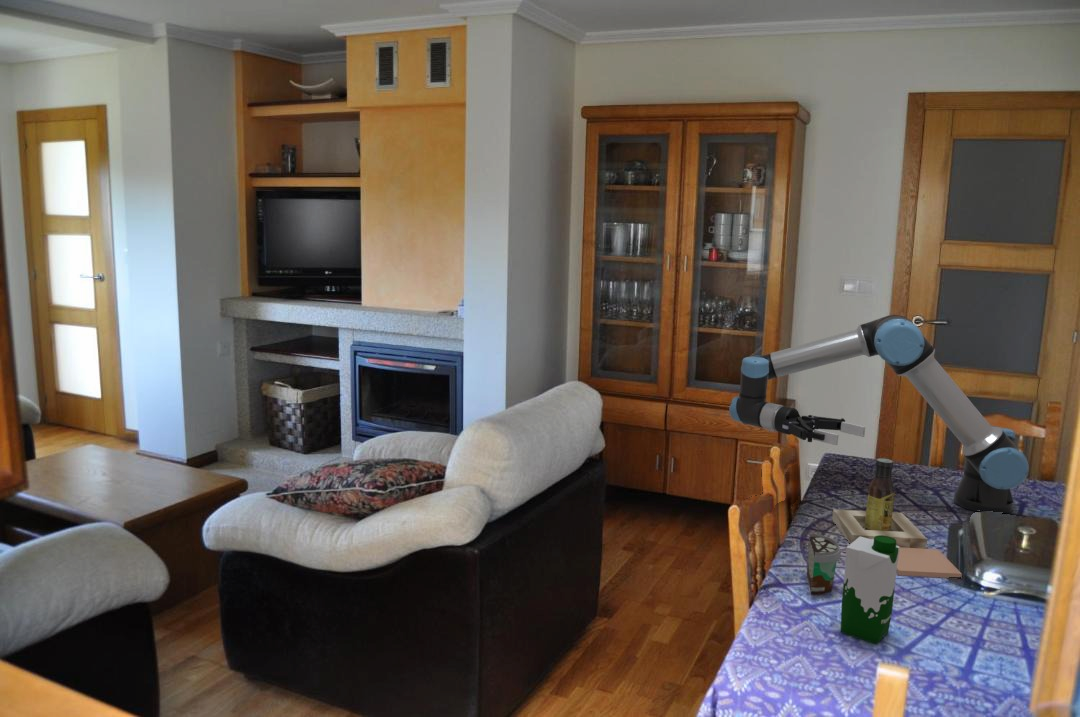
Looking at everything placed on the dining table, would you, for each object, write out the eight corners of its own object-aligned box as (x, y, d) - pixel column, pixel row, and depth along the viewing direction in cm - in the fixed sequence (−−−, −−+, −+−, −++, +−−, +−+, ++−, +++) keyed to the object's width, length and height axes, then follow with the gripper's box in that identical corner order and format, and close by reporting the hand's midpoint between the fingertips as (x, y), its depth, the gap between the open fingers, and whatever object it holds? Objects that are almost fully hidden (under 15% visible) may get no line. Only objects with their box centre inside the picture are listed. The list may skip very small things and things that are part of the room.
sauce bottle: (886, 541, 215) (893, 465, 212) (860, 535, 219) (868, 460, 215) (893, 533, 220) (900, 460, 217) (868, 527, 224) (875, 455, 220)
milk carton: (880, 648, 163) (890, 549, 159) (833, 632, 168) (842, 536, 165) (894, 631, 169) (905, 536, 166) (849, 616, 175) (858, 524, 171)
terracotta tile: (937, 553, 208) (937, 549, 208) (961, 578, 194) (961, 573, 194) (878, 551, 209) (879, 546, 209) (898, 575, 195) (898, 570, 195)
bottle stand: (900, 523, 228) (901, 512, 227) (925, 550, 210) (927, 538, 210) (832, 520, 229) (833, 509, 228) (851, 546, 211) (852, 535, 211)
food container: (841, 600, 182) (845, 556, 180) (811, 597, 183) (815, 553, 181) (833, 576, 194) (837, 534, 192) (805, 573, 195) (809, 532, 193)
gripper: (804, 425, 247) (873, 442, 231) (753, 438, 231) (824, 457, 215) (806, 400, 245) (876, 415, 230) (755, 412, 229) (826, 429, 213)
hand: (851, 435), depth 222 cm, fingers open, 13 cm apart
